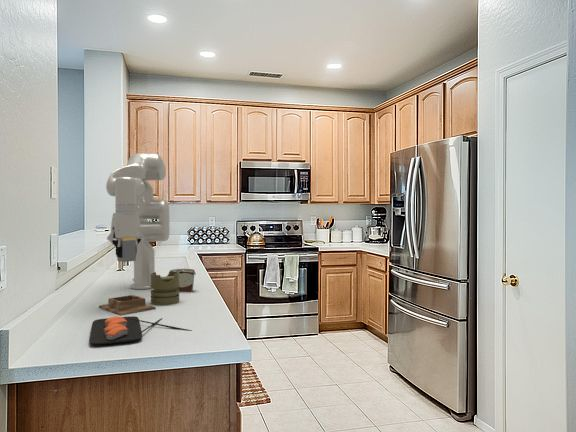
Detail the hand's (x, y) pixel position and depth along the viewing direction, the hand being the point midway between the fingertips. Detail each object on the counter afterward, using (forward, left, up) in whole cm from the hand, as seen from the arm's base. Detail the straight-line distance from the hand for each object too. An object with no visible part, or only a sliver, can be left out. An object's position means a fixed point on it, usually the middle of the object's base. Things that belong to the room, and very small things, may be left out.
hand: (126, 256), depth 174 cm
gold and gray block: (0, 0, -2) cm, 2 cm away
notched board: (0, 0, -20) cm, 20 cm away
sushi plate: (+32, -11, -21) cm, 40 cm away
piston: (+1, +16, -20) cm, 26 cm away
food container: (-14, +35, -20) cm, 43 cm away
